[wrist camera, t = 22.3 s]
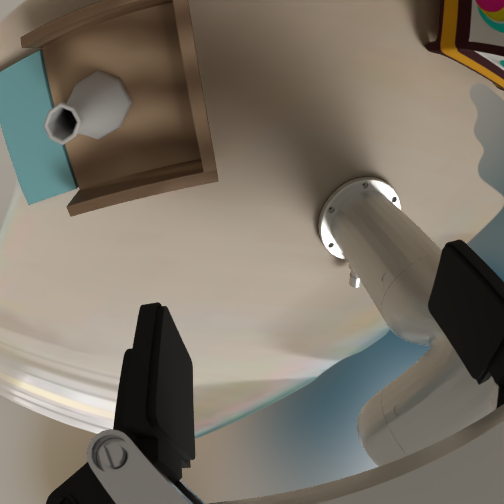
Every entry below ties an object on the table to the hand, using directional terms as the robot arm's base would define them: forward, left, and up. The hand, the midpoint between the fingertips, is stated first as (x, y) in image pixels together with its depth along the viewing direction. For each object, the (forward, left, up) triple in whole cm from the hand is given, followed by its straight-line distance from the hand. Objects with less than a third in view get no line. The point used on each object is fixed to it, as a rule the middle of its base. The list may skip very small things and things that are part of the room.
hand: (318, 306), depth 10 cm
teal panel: (+6, +19, -26) cm, 33 cm away
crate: (+6, +10, -28) cm, 30 cm away
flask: (+6, +13, -26) cm, 30 cm away
